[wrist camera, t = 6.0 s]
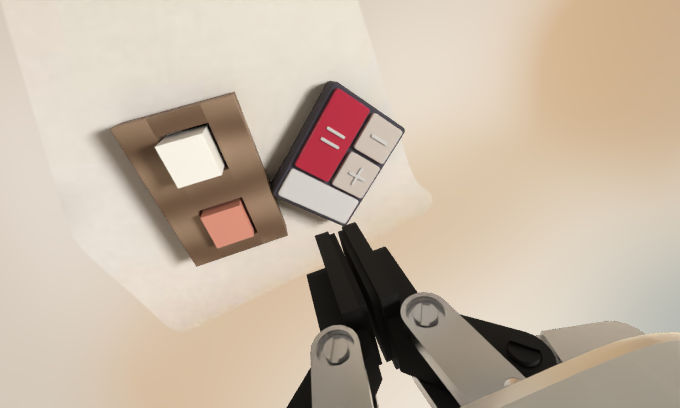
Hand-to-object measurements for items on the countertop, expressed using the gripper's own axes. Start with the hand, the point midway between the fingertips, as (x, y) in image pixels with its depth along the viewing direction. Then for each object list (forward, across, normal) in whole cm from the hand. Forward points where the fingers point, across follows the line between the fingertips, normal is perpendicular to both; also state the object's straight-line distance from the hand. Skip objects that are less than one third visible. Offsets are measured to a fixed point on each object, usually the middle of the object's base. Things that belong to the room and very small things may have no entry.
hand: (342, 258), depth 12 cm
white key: (+25, +10, 0) cm, 27 cm away
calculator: (+28, -5, +6) cm, 29 cm away
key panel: (+27, +10, +4) cm, 29 cm away
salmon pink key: (+27, +10, +9) cm, 30 cm away
